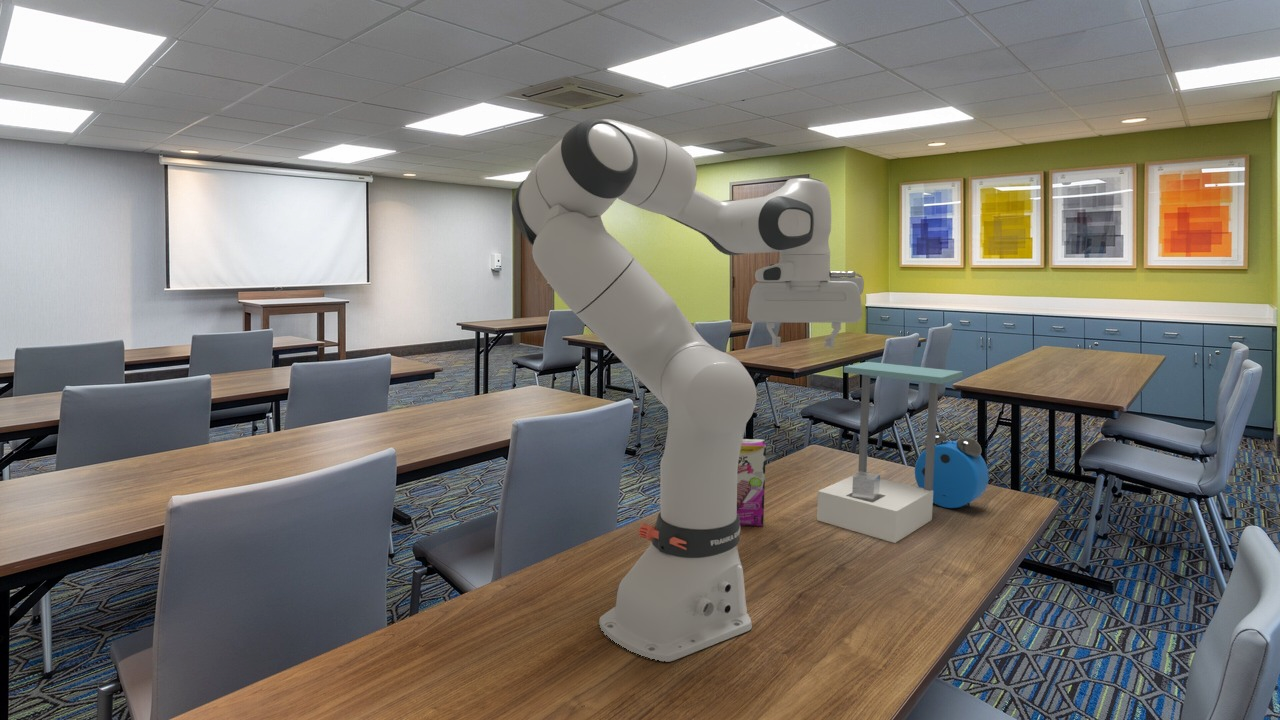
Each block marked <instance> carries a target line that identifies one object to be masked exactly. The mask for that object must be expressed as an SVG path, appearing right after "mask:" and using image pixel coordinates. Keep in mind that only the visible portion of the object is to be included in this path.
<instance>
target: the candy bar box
mask: <svg viewBox="0 0 1280 720" xmlns="http://www.w3.org/2000/svg"><path fill="white" fill-rule="evenodd" d="M766 457H767V445H766V442H765V439H759V438H758V439H756V438H755V439H753V438H743V441H742V445H741V450H740V455H739V462H738V472H737V514H738V516H739V521H740V526H741V527H742V526H745V527H746V526H748V527H750V526H751V527H763V526H764V521H765V520H764V519H765V516H764V515H765V495H766V494H765V490H766Z"/></svg>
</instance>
